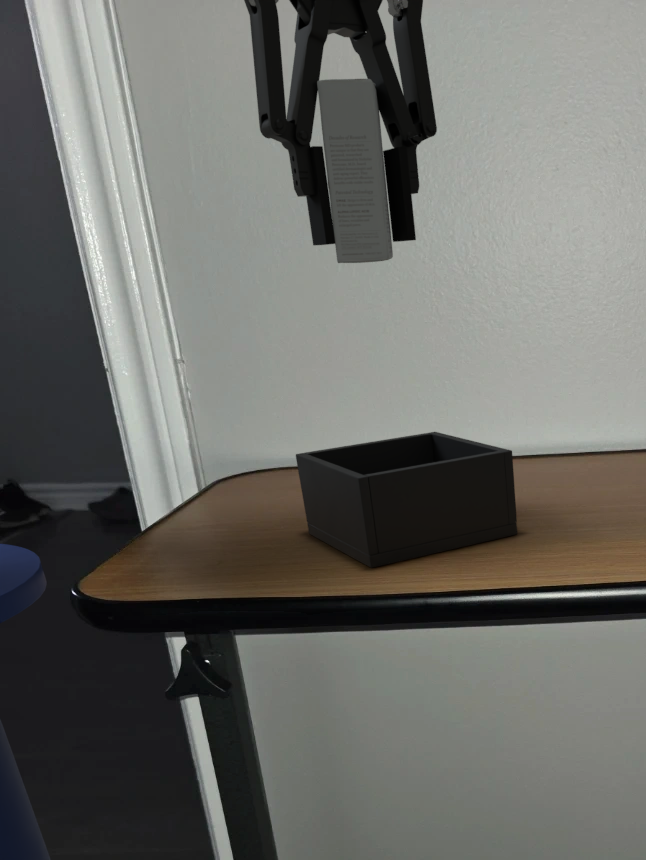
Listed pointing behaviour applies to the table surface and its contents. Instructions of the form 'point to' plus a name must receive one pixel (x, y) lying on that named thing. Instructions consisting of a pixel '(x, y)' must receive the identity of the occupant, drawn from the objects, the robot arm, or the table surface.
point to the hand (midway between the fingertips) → (365, 242)
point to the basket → (408, 496)
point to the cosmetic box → (355, 170)
